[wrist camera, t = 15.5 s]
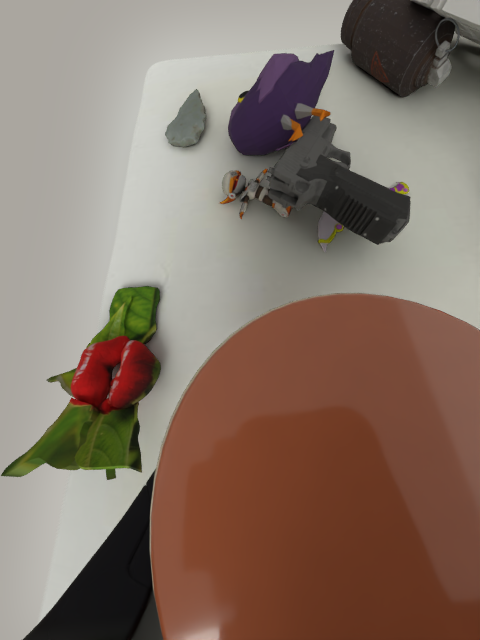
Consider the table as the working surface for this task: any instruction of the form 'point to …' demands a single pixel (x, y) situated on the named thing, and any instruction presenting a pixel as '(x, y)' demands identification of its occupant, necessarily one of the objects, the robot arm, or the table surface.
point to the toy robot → (249, 192)
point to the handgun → (336, 186)
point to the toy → (279, 104)
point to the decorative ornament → (103, 394)
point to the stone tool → (187, 122)
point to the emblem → (458, 15)
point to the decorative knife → (331, 226)
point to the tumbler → (324, 479)
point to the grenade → (399, 42)
